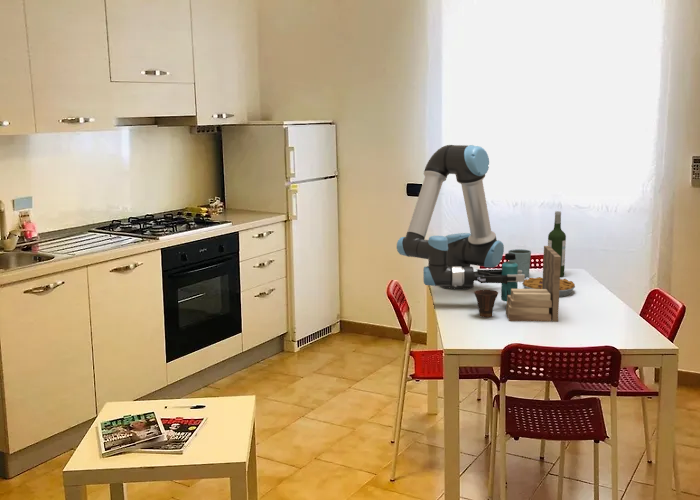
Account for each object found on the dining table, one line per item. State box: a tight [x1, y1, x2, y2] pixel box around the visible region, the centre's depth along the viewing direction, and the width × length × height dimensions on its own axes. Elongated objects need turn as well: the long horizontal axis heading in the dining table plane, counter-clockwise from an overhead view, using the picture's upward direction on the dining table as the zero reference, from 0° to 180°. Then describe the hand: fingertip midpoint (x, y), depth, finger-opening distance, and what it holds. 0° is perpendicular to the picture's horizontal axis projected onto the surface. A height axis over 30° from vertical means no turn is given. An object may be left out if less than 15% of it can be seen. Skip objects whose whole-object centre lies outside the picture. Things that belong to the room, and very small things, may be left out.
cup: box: [473, 288, 499, 318], centre depth 279 cm, size 9×9×10 cm
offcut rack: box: [505, 245, 561, 322], centre depth 281 cm, size 22×18×24 cm
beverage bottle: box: [500, 252, 519, 303], centre depth 290 cm, size 6×7×20 cm
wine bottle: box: [547, 210, 567, 278], centre depth 344 cm, size 8×8×30 cm
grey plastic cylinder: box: [508, 248, 532, 279], centre depth 345 cm, size 10×10×12 cm
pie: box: [521, 276, 576, 298], centre depth 316 cm, size 22×22×5 cm
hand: (522, 276), depth 290 cm, fingers closed on beverage bottle, 6 cm apart
